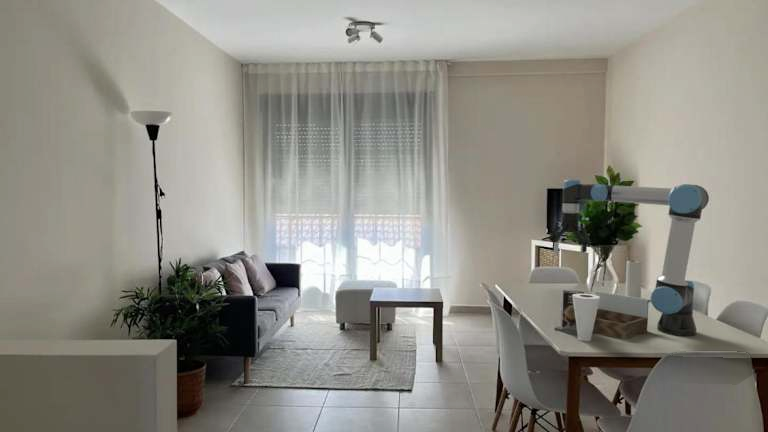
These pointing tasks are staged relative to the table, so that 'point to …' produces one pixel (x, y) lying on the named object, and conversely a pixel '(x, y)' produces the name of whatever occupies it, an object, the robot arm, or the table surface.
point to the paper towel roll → (633, 279)
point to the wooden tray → (619, 324)
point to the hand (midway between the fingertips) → (568, 257)
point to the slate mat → (566, 330)
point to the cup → (585, 314)
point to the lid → (623, 304)
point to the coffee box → (568, 310)
